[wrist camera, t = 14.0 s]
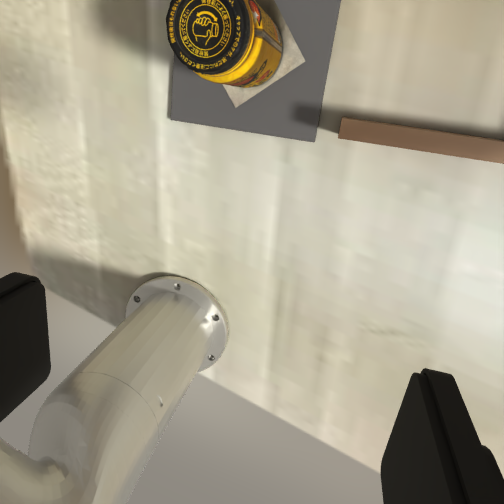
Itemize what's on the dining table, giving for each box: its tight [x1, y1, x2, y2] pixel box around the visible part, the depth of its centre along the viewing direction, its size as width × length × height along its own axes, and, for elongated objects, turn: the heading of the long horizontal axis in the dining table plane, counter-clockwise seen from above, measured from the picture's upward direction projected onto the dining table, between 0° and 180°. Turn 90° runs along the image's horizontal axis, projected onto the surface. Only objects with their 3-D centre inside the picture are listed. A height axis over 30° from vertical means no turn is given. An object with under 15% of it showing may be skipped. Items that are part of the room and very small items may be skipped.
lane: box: [338, 117, 504, 164], centre depth 29 cm, size 14×20×5 cm
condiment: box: [166, 0, 305, 108], centre depth 29 cm, size 7×8×12 cm
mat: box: [171, 0, 341, 142], centre depth 34 cm, size 14×14×1 cm
